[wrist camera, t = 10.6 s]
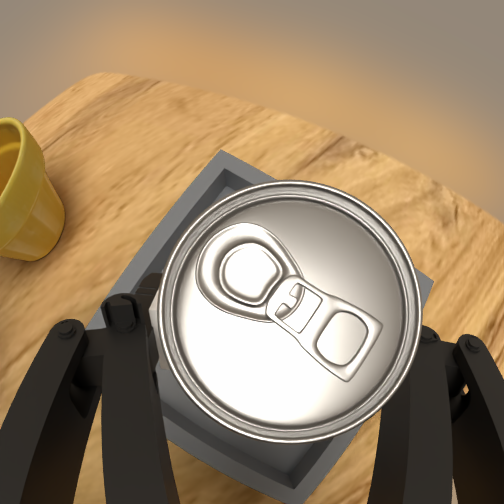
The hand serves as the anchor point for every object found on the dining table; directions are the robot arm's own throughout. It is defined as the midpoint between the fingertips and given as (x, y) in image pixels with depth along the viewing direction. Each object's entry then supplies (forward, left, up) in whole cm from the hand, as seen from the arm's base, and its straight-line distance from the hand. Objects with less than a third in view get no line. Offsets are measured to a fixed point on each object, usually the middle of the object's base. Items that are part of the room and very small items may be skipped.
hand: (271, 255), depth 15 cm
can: (+2, -3, -4) cm, 5 cm away
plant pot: (-20, -7, -7) cm, 22 cm away
